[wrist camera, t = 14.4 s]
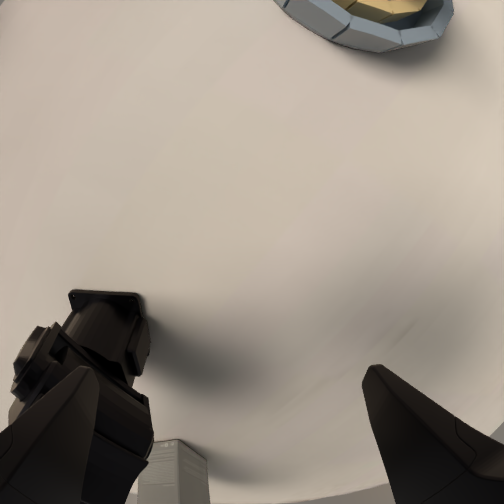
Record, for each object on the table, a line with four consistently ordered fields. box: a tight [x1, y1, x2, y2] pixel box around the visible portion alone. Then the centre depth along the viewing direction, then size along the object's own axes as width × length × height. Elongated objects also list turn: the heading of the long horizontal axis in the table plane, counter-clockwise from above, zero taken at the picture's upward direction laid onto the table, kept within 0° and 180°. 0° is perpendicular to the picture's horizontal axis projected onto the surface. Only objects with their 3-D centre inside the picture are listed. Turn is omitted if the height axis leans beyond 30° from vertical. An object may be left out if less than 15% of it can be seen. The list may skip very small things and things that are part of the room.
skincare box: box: [137, 440, 210, 504], centre depth 25 cm, size 8×7×16 cm
